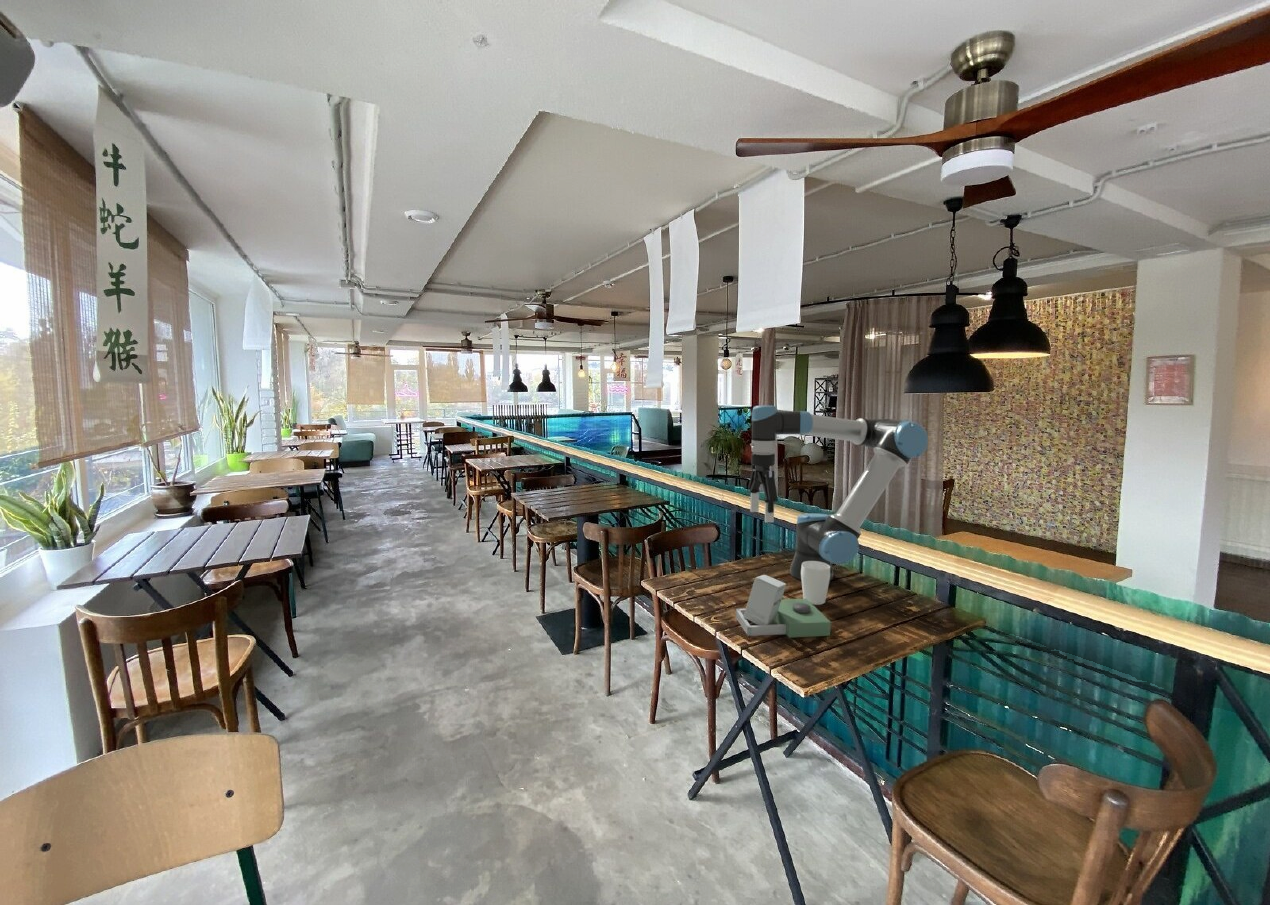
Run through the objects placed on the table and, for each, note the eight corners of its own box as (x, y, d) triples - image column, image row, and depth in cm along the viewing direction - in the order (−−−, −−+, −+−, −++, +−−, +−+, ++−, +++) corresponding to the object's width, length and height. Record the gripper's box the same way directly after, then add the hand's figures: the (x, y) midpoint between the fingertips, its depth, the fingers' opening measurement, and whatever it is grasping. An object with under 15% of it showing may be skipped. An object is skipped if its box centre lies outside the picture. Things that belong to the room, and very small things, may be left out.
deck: (805, 610, 158) (806, 594, 158) (830, 635, 142) (831, 617, 142) (733, 613, 156) (733, 597, 155) (750, 639, 140) (750, 621, 140)
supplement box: (765, 629, 143) (778, 587, 142) (742, 617, 148) (754, 576, 146) (775, 624, 149) (787, 583, 148) (752, 612, 154) (764, 573, 152)
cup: (831, 607, 160) (833, 571, 159) (801, 605, 162) (802, 569, 161) (826, 596, 169) (828, 561, 168) (798, 594, 171) (799, 559, 170)
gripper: (739, 448, 177) (738, 508, 180) (765, 458, 153) (764, 527, 156) (760, 448, 178) (759, 507, 181) (789, 458, 154) (787, 526, 156)
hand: (761, 516), depth 168 cm, fingers open, 13 cm apart
